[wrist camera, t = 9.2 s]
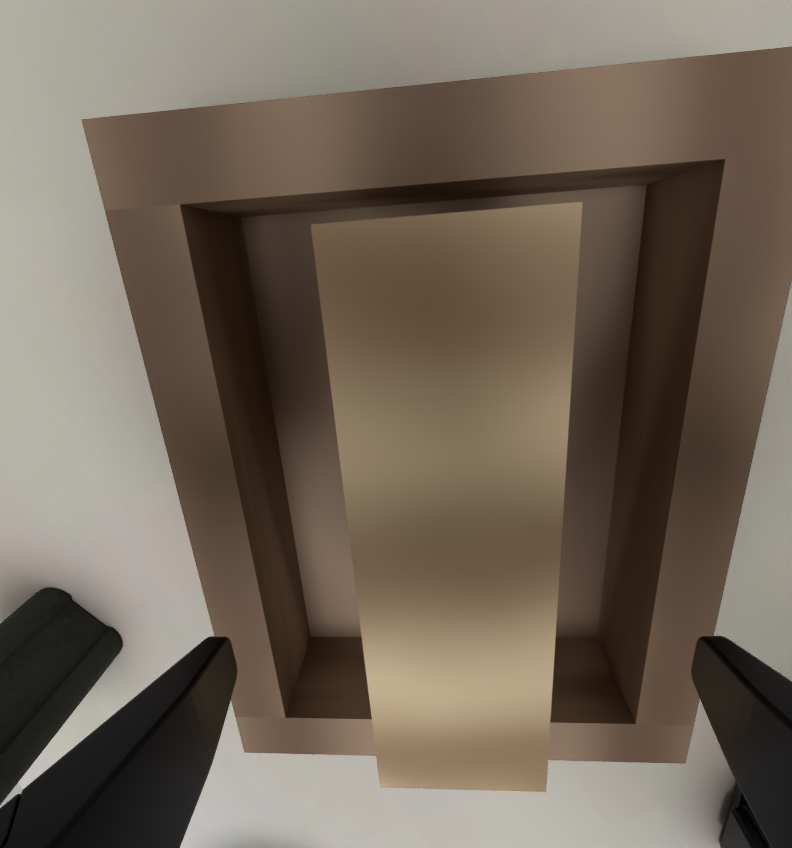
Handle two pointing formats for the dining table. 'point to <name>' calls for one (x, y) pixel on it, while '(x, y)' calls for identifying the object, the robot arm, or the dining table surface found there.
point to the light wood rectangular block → (454, 477)
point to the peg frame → (591, 370)
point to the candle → (45, 675)
